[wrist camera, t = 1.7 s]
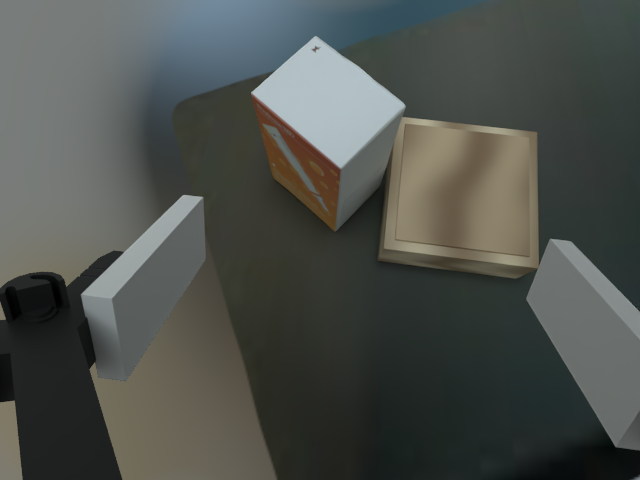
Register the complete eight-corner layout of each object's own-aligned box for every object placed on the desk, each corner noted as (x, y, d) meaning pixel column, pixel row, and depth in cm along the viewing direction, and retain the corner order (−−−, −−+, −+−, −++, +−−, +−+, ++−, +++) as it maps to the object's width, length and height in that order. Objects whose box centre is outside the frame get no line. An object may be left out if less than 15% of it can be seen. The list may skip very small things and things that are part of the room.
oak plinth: (516, 154, 39) (538, 130, 35) (515, 278, 36) (540, 267, 32) (389, 140, 40) (396, 114, 36) (377, 260, 37) (384, 247, 32)
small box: (271, 178, 39) (247, 91, 26) (318, 134, 40) (315, 31, 28) (335, 235, 37) (341, 170, 25) (382, 187, 39) (409, 102, 26)
